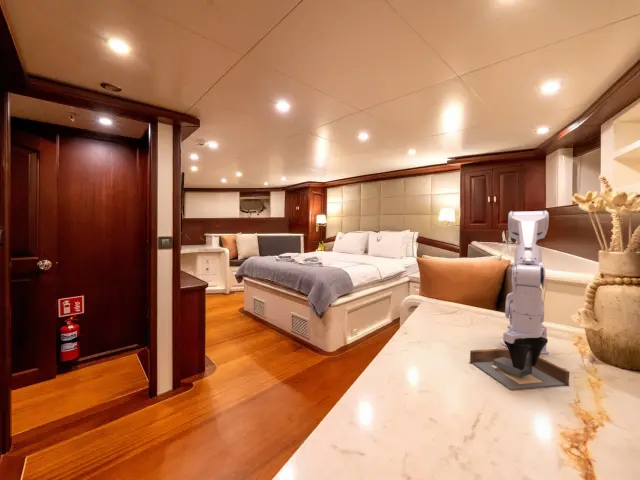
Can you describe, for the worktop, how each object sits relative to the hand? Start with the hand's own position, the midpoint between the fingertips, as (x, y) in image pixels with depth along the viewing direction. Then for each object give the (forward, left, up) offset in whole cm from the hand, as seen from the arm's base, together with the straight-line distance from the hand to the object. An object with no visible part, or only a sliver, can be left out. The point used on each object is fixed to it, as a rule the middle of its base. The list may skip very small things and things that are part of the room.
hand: (524, 366), depth 69 cm
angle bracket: (+1, -3, -2) cm, 4 cm away
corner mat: (-1, -3, -4) cm, 5 cm away
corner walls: (-1, -3, -4) cm, 5 cm away
